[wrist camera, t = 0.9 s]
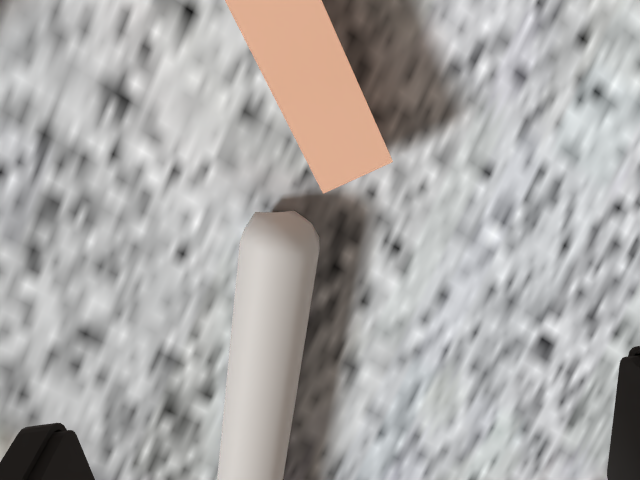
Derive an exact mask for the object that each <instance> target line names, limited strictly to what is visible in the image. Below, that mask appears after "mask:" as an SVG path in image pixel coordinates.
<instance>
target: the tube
mask: <svg viewBox="0 0 640 480" xmlns="http://www.w3.org/2000/svg"><path fill="white" fill-rule="evenodd" d="M318 256H319V236H318V234H317V232H316V230H315V228H314V227H313V225H312V223H311V222H309V221H308V220H307V219H305V218H304V217H303V216H301V215H300V214H298V213H297V212H296V211H284V212H255V213H254V215H253V216H252V218H251V220H250V221H249V223H248V224H247V226H246V227H245V229H244V231H243V234H242V237H241V241H240V246H239V256H238V267H237V277H236V288H235V298H234V309H233V319H232V330H231V341H230V351H229V362H228V372H227V383H226V393H225V404H224V414H223V425H222V435H221V446H220V456H219V467H218V477H217V480H283V476H284V470H285V464H286V458H287V451H288V445H289V439H290V432H291V426H292V420H293V413H294V407H295V401H296V395H297V388H298V382H299V376H300V369H301V363H302V357H303V350H304V344H305V338H306V332H307V325H308V319H309V313H310V306H311V300H312V294H313V288H314V281H315V275H316V269H317V262H318Z"/></svg>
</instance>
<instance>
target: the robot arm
mask: <svg viewBox="0 0 640 480" xmlns="http://www.w3.org/2000/svg"><path fill="white" fill-rule="evenodd" d="M607 477H608V480H640V346H637V347H634V348H632V349H631V350H630V352H629V355H628V357H624V358H622V360H621V362H620V367H619V376H618V384H617V393H616V401H615V410H614V418H613V427H612V435H611V444H610V452H609V461H608V469H607ZM0 480H95V479H94V476H93V474H92V472H91V469H90V467H89V464H88V462H87V459H86V457H85V455H84V452H83V450H82V447H81V445H80V443H79V440H78V438H77V435H76V434H75V432H74V431H72V430H66V428H65V426H64V425H62V424H61V423H53V424H46V425H38V426H31V427H25V428H24V429H22V430H21V431H20V432H19V433H18V435H17V436H16V438H15V440H14V441H13V443H12V444H11V446H10V448H9V449H8V451H7V452H6V454H5V456H4V457H3V459H2V460H1V462H0Z"/></svg>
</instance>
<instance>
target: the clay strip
mask: <svg viewBox="0 0 640 480" xmlns="http://www.w3.org/2000/svg"><path fill="white" fill-rule="evenodd" d="M225 1H226V3H227V5H228V7H229V9H230V11H231V13H232V15H233V17H234V19H235V21H236V23H237V25H238V27H239V29H240V31H241V33H242V35H243V37H244V39H245V41H246V43H247V45H248V46H249V48H250V50H251V52H252V54H253V56H254V58H255V60H256V62H257V64H258V66H259V68H260V70H261V72H262V74H263V76H264V78H265V80H266V82H267V84H268V86H269V88H270V90H271V92H272V94H273V96H274V98H275V100H276V102H277V104H278V105H279V107H280V109H281V111H282V113H283V115H284V117H285V119H286V121H287V123H288V125H289V127H290V129H291V131H292V133H293V135H294V137H295V139H296V141H297V143H298V145H299V147H300V149H301V151H302V153H303V155H304V157H305V159H306V161H307V163H308V164H309V166H310V168H311V170H312V172H313V174H314V176H315V178H316V180H317V182H318V184H319V186H320V188H321V190H322V192H323V194H324V193H326V192H328V191H330V190H332V189H335V188H337V187H339V186H341V185H343V184H346V183H348V182H350V181H352V180H354V179H357V178H359V177H361V176H363V175H365V174H367V173H370V172H372V171H374V170H376V169H378V168H381V167H383V166H385V165H387V164H389V163H392V162H393V161H392V158H391V156H390V154H389V151H388V149H387V147H386V144H385V142H384V140H383V138H382V135H381V133H380V131H379V128H378V126H377V124H376V122H375V119H374V117H373V115H372V113H371V110H370V108H369V106H368V104H367V101H366V99H365V97H364V95H363V92H362V90H361V88H360V86H359V83H358V81H357V79H356V76H355V74H354V72H353V70H352V67H351V65H350V63H349V61H348V58H347V56H346V54H345V52H344V49H343V47H342V45H341V43H340V40H339V38H338V36H337V33H336V31H335V29H334V27H333V24H332V22H331V20H330V18H329V15H328V13H327V11H326V9H325V6H324V4H323V2H322V0H225Z"/></svg>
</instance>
